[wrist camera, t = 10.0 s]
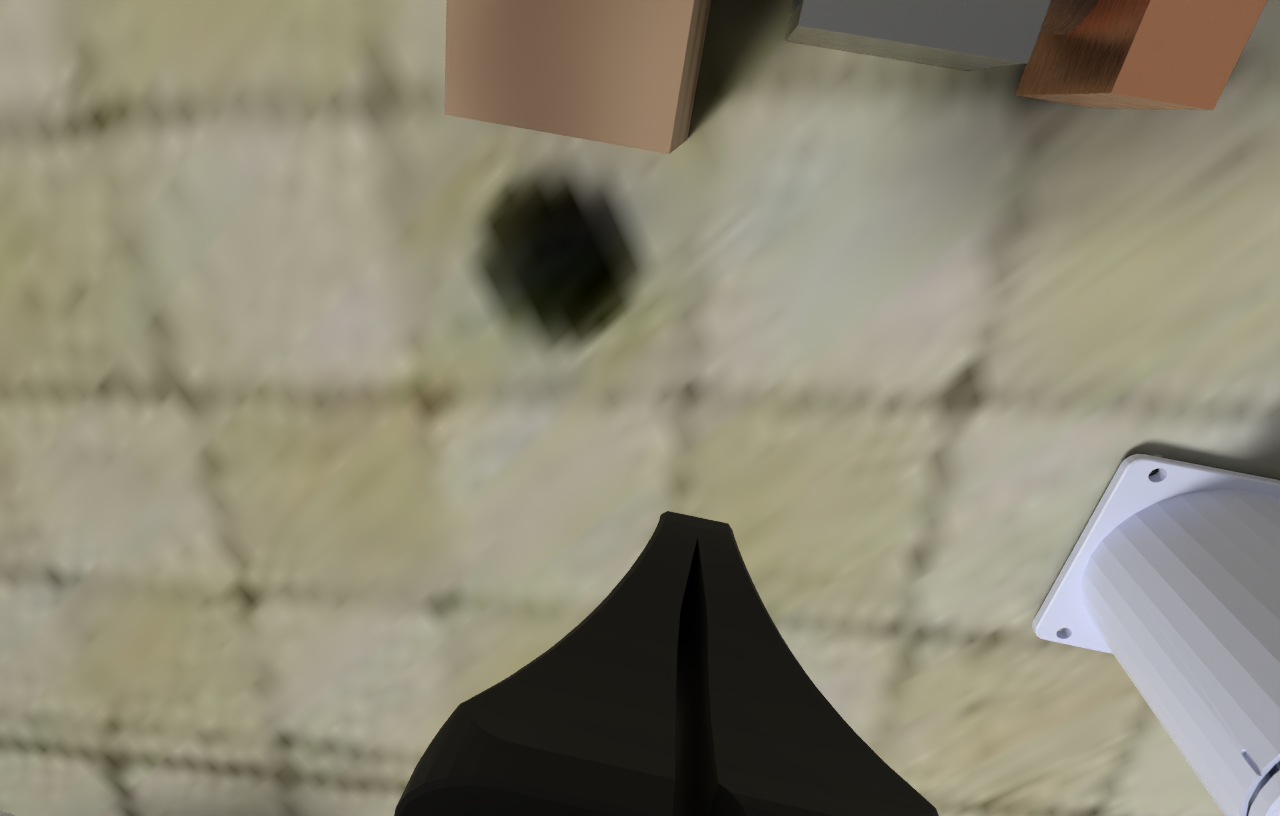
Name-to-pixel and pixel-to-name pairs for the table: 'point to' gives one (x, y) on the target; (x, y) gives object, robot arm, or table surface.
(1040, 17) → the grey channel block
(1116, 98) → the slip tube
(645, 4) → the socket block
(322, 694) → the table surface
